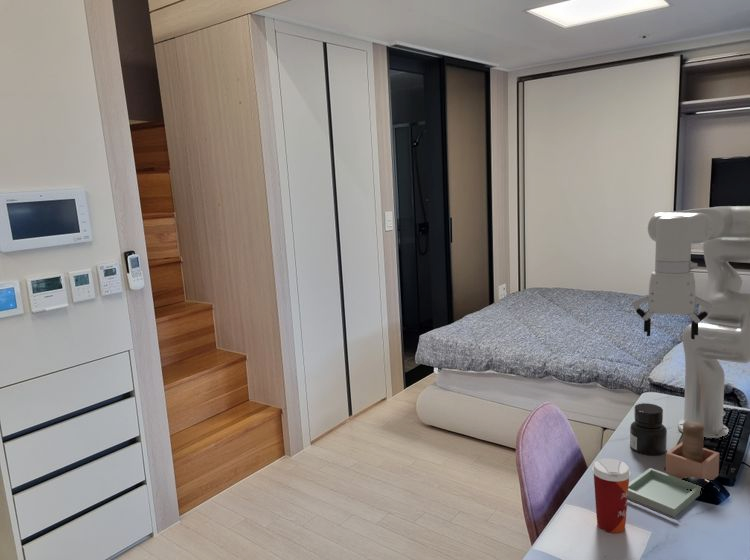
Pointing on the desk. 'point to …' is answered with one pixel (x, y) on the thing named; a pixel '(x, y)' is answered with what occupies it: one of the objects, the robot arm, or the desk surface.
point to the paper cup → (611, 494)
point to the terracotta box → (692, 464)
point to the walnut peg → (693, 441)
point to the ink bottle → (648, 430)
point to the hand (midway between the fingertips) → (670, 336)
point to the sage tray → (662, 492)
